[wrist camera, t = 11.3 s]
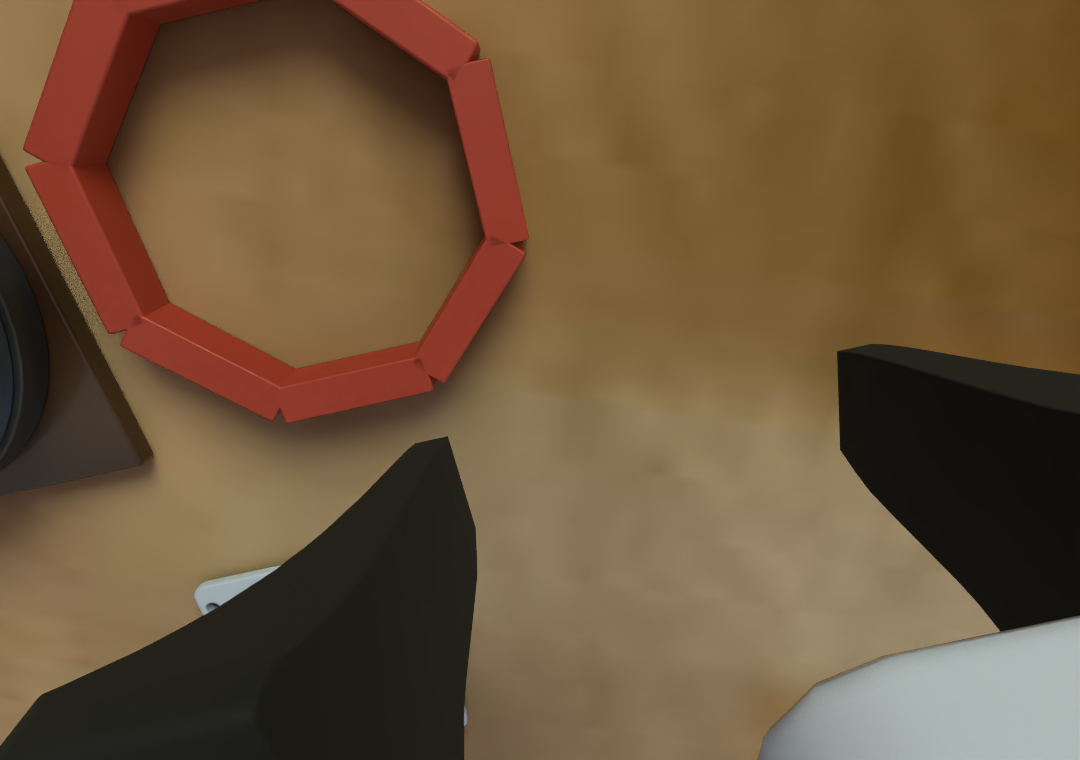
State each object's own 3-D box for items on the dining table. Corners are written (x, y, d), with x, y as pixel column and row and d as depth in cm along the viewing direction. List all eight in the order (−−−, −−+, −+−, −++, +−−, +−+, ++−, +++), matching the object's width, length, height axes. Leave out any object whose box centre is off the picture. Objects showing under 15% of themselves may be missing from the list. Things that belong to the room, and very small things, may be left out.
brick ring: (552, 347, 21) (556, 364, 19) (189, 427, 21) (165, 450, 19) (454, -104, 16) (449, -127, 14) (-12, 9, 16) (-64, -3, 15)
